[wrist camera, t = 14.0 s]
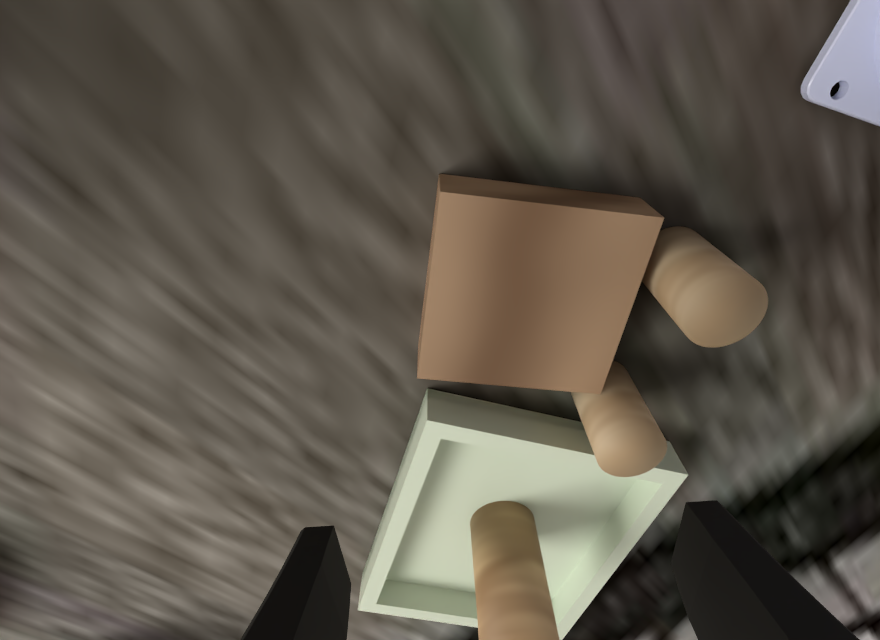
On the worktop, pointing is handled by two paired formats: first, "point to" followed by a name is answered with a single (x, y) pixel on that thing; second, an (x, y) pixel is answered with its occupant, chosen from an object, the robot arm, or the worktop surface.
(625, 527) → the tray
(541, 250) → the tan cardboard-coloured block
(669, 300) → the cylinder
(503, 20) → the worktop surface
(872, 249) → the worktop surface
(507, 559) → the dowel
